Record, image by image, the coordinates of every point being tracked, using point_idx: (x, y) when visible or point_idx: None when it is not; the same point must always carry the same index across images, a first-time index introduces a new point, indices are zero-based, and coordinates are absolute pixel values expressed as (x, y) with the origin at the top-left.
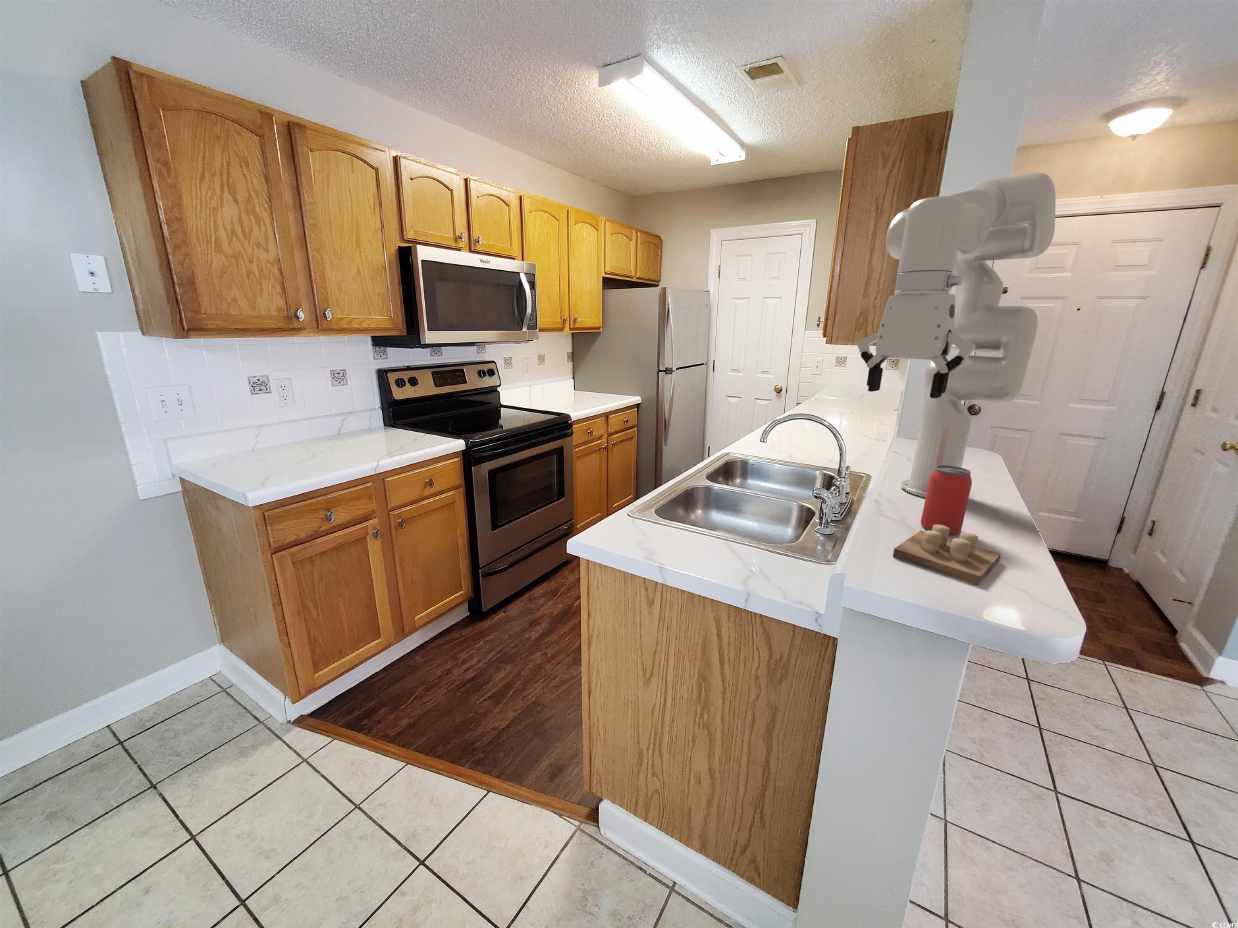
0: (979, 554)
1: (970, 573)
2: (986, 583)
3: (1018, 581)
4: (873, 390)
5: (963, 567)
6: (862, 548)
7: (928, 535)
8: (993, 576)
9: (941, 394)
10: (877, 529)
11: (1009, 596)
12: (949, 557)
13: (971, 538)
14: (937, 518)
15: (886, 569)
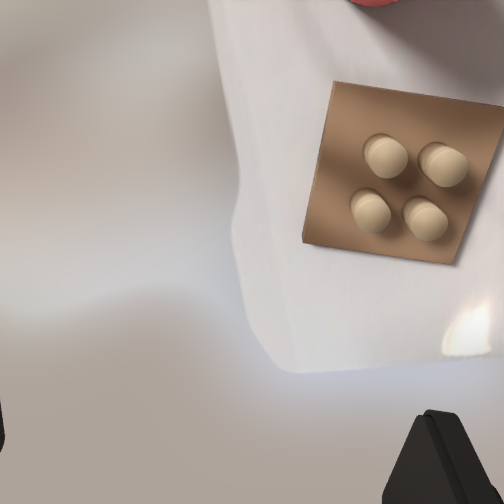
0: (462, 152)
1: (436, 261)
2: None
3: None
4: (1, 433)
5: (426, 245)
6: (244, 234)
7: (364, 231)
8: None
9: (458, 422)
10: (238, 93)
11: (489, 264)
12: (402, 218)
13: (452, 184)
14: (374, 3)
15: (303, 294)
